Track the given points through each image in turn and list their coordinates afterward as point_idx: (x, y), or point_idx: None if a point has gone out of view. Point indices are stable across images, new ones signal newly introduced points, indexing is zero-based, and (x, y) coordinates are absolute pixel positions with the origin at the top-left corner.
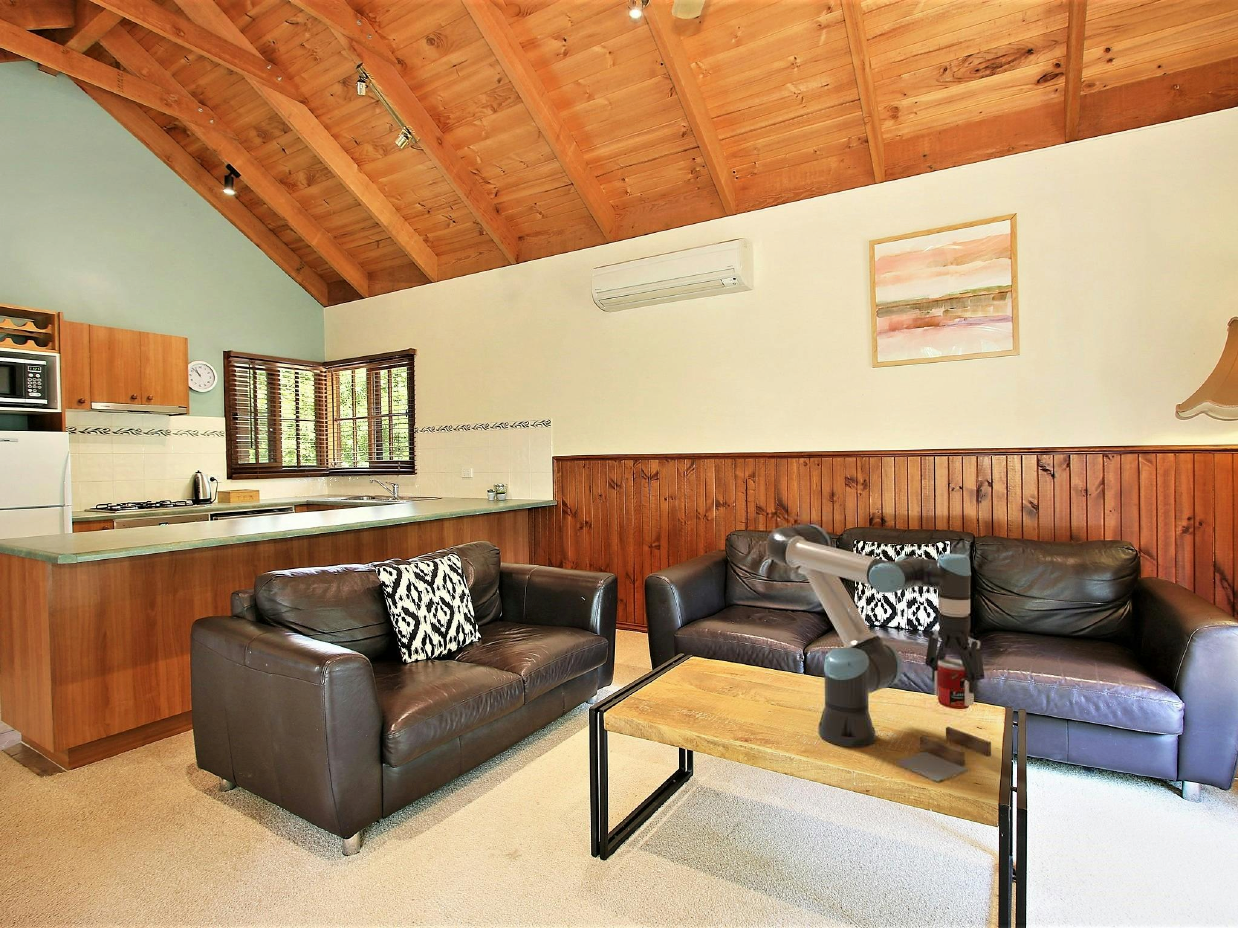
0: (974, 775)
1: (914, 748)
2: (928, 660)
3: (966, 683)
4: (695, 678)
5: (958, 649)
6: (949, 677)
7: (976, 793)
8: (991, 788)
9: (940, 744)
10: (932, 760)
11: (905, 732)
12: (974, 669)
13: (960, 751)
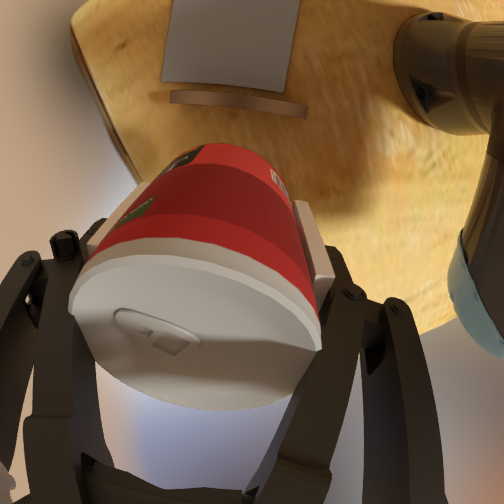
0: (141, 72)
1: (312, 99)
2: (397, 327)
3: (101, 234)
4: None
5: (43, 461)
6: (167, 196)
7: (106, 11)
8: (96, 53)
9: (238, 95)
10: (241, 56)
11: (367, 178)
12: (10, 299)
13: (177, 94)
